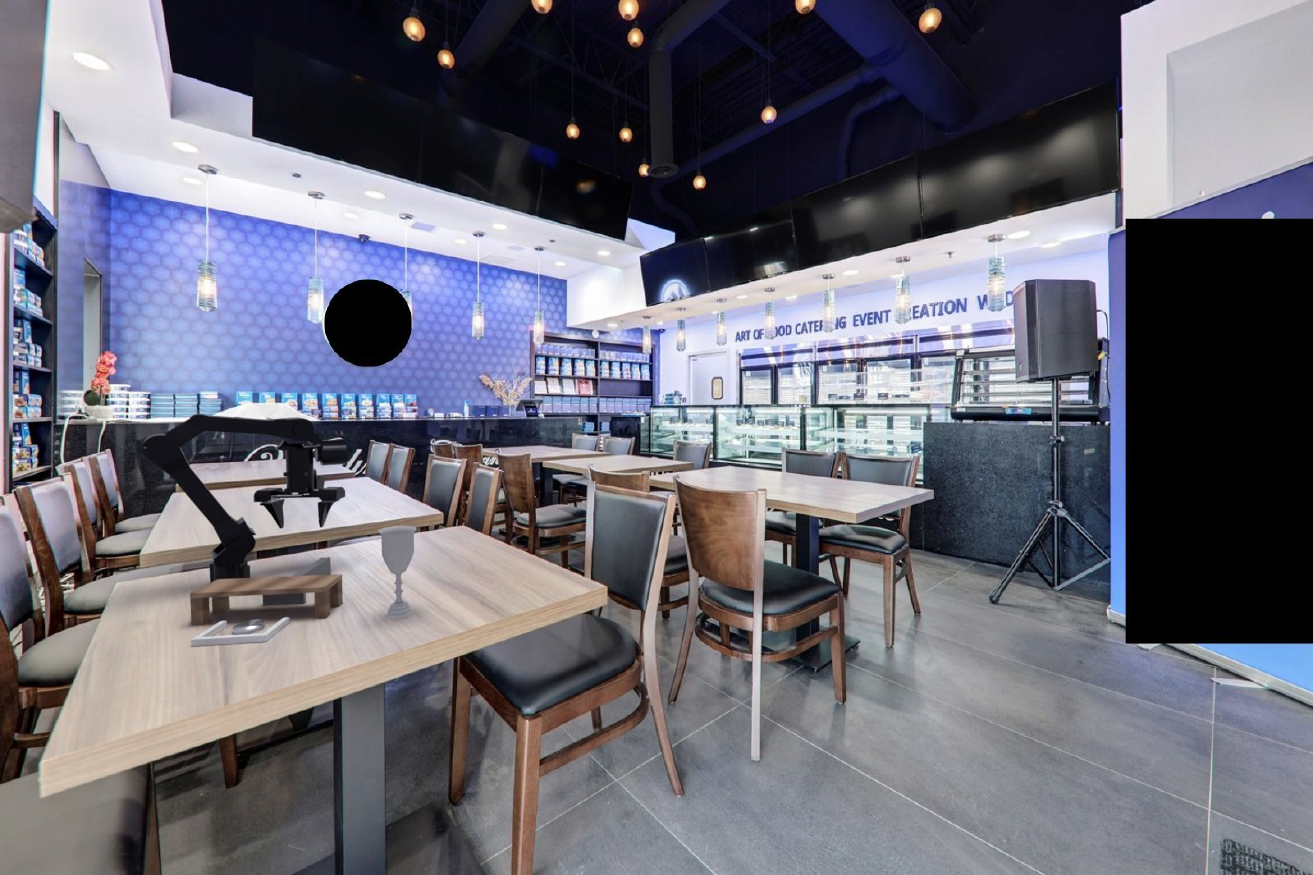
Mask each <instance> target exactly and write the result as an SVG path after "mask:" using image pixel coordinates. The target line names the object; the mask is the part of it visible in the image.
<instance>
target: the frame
mask: <svg viewBox="0 0 1313 875" xmlns="http://www.w3.org/2000/svg"><path fill="white" fill-rule="evenodd" d="M289 624H290V617H288V616H287V617H286V616H285V617H283V618H281V619H280V620H278V621H277V622H276V623H274V624H273V625H272V626H270V627H269V628H267V630H265V631H264V632H262V633H252V634H243V635H234V634H230V635H229V634H228V635H216V634H218V633H220V632H221V631H223V630H225V628H227V627H228V622H227V620H220V621H219V622H217V623H215V624H214V625H212V626H210V627H209V628H207V629H205V630H204V631H203V632H201V633H200V634H198V635H197V636H195V637H193V638H192V639H191V640H190V642H191V643H190V645H191V647H200V646H202V647H203V646H216V645H217V646H219V645H232V644H234V645H236V644H237V645H238V644H249V643H266V642H268V641H269V640H270V639H271V638H272V637H274V636H275V635H277V634H278V633H279V632H280V631H282V630H283V629H284V628H285V627H286V626H288V625H289Z"/></svg>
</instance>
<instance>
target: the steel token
mask: <svg viewBox="0 0 1313 875" xmlns="http://www.w3.org/2000/svg"><path fill="white" fill-rule="evenodd" d="M266 627H267V625H266V620H265V619H260V618H256V619H250V620H246V621H242V622H239V623H237V624H235V625H234V626H232V635H243V634H256V633H258V632H260V631H263V629H265V628H266Z"/></svg>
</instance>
